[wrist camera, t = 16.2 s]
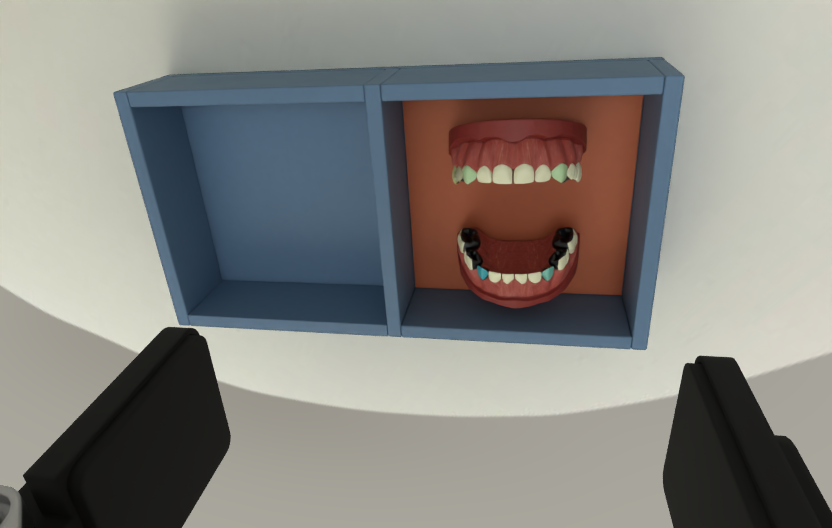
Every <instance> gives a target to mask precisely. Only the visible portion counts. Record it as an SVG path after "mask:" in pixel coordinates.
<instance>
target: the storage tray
mask: <svg viewBox="0 0 832 528" xmlns="http://www.w3.org/2000/svg"><path fill="white" fill-rule="evenodd" d="M684 78H685V77H684V75H683V74H682V73H680V72H679V71H678V70H677V69H675V68H674V67H673V66H672V65H670V64H669V63H668V62H667V61H665V59H664V58H662V57H657V58H629V59H601V60H573V61H545V62H517V63H488V64H460V65H432V66H404V67H376V68H347V69H319V70H291V71H263V72H235V73H206V74H178V75H167V76H163V77H161V78H158V79H154V80H151V81H148V82H145V83H142V84H138V85H135V86H132V87H129V88H126V89H122V90H119V91H116V92H114V93H113V94H114V98H115V101H116V105H117V108H118V112H119V116H120V119H121V123H122V126H123V130H124V133H125V137H126V140H127V144H128V147H129V151H130V154H131V158H132V161H133V165H134V168H135V172H136V175H137V179H138V182H139V186H140V189H141V193H142V196H143V200H144V203H145V207H146V210H147V214H148V217H149V221H150V224H151V228H152V231H153V235H154V238H155V242H156V245H157V249H158V252H159V256H160V259H161V263H162V266H163V270H164V273H165V277H166V280H167V284H168V287H169V291H170V294H171V298H172V301H173V305H174V308H175V312H176V315H177V319H178V322H179V325H191V326H206V327H224V328H243V329H261V330H280V331H299V332H317V333H336V334H354V335H373V336H393V337H401V336H402V337H413V338H431V339H450V340H469V341H487V342H506V343H524V344H543V345H561V346H580V347H599V348H617V349H630V348H631V349H636V350H646V349H647V343H648V336H649V329H650V322H651V315H652V307H653V300H654V293H655V286H656V279H657V272H658V264H659V257H660V250H661V243H662V236H663V229H664V221H665V214H666V207H667V200H668V193H669V186H670V178H671V171H672V164H673V157H674V150H675V143H676V135H677V128H678V121H679V114H680V107H681V100H682V92H683V85H684ZM503 119H559V120H567V121H574V122H578V123H581V124H583V125H585V126H586V128H587V147H586V152H585V153H584V154H583V155H582V160H581V163H580V165H581V169H582V176H581V179H580V181H579V182H576V181H575V180H573V179H572V180H567V181H566V182H565V183H563V182H562V183H560V182H559V181H557V180H555V179H554V178H552V176H551V178H550V180H549V181H545V182H536V181H535V172H534V181H533V182H532V183H526V184H515V183H514V181H513V183H512V184H497V183H494V182H493V180H492V182H491V183H482V182H479V181H478V179H477V178H476V179H475V180H474V181H473V182H471V183H470V184H466V183H465V182H463V181H461V182H459V183H458V184H455V183H454V182H453V179H452V171H453V168H454V166H453V163H452V157H451V155H449V130H451V129H452V128H454V127H456V126H459V125H463V124H468V123H473V122H482V121H491V120H503ZM513 173H514V170H513ZM492 174H493V173H492ZM558 227H562V228H563V227H572V228H573V229H574V230H575V231H576V232H577V233H580V245H579V258H578V265H577V269H576V273H575V276H574V277H573V279H572V280H571V282H570V283H569V285H568V286H567V288H566V289H565V290H564V291H563V292H562V293H560V294H559V295H558V296H556V297H555V298H553V299H551V300H550V301H547V302H542V303H539V304H536V305H533V306H529V307H524V308H516V309H515V308H509V307H504V306H501V305H498V304H495V303H493V302H490V301H486V300H483V299H482V298H480V297H479V296H477V295H476V294H475V293H474V292H472V291H471V289H470V288H469V287H468V286H467V284H466V282H465V281H464V279H463V277H462V275H461V272H460V267H459V260H458V252H457V233H460V231H461V229H462V228H478V229H479V230H480V231H481V232H482V233H483V234H484V235H486V236H487V237H489V238H492V239H496V240H505V241H531V240H539V239H543V238H546V237H548V236H550V235H551V234H552V233H553V232H554V231H555V230H556V229H557V228H558Z"/></svg>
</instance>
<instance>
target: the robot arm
mask: <svg viewBox="0 0 832 528" xmlns="http://www.w3.org/2000/svg"><path fill="white" fill-rule="evenodd" d="M230 436H231V435H230V431H229V427H228V422H227V419H226V414H225V411H224V407H223V403H222V399H221V395H220V391H219V388H218V383H217V380H216V376H215V372H214V368H213V364H212V360H211V356H210V352H209V349H208V345H207V341H206V339H205V338H204V337H203V336H200V335H199V333H198V331H197V330H196V329H193V328H178V327H167V328H165V329H163V330H162V331H161V332H160V333H159V334H158V335H157V336H156V337H155V338H154V339H153V340H152V341H151V342H150V343H149V344H148V345H147V346H146V347H145V349H144V350H143V351H142V352H141V353H140V354H139V355H138V356H137V357H136V358H135V359H134V360H133V361H132V362H131V363H130V364H129V365H128V366H127V367H126V368H125V369H124V370H123V372H122V373H121V374H120V375H119V376H118V377H117V378H116V379H115V380H114V381H113V382H112V383H111V384H110V385H109V386H108V387H107V388H106V389H105V390H104V391H103V392H102V393H101V394H100V395H99V396H98V398H97V399H96V400H95V401H94V402H93V403H92V404H91V405H90V406H89V407H88V408H87V409H86V410H85V411H84V412H83V413H82V414H81V415H80V416H79V417H78V418H77V420H75V421H74V423H73V424H72V425H71V426H70V427H69V428H68V429H67V430H66V431H65V432H64V433H63V434H62V435H61V436H60V437H59V438H58V439H57V440H56V441H55V442H54V443H53V444H52V445H51V447H50V448H49V449H48V450H47V451H46V452H45V453H44V454H43V455H42V456H41V457H40V458H39V459H38V460H37V461H36V462H35V463H34V464H33V465H32V466H31V467H30V468H29V469H28V470H27V471H26V473H25V474H24V475H23V477H24V479H25V481H26V484H25V485H24V486H23V487H22V488H21V489H20V490H19V491H16V490H15V489H14V488H12V487H8V486H3V485H0V528H182V526H183V525H184V523H185V521H186V519H187V518H188V516H189V515H190V513H191V511H192V510H193V508H194V506H195V504H196V503H197V501H198V500H199V498H200V496H201V495H202V493H203V491H204V489H205V488H206V486H207V484H208V483H209V481H210V479H211V478H212V476H213V474H214V473H215V471H216V469H217V468H218V466H219V464H220V463H221V461H222V459H223V458H224V456H225V454H226V453H227V451H228V448H229V445H230ZM663 486H664V492H665V495H666V500H667V504H668V508H669V511H670V515H671V519H672V523H673V527H674V528H832V512H831V510H830V508H829V507H828V505H827V503H826V501H825V499H824V498H823V496H822V494H821V492H820V490H819V488H818V487H817V485H816V483H815V481H814V479H813V478H812V476H811V474H810V472H809V470H808V468H807V466H806V465H805V463H804V461H803V459H802V457H801V456H800V454H799V452H798V450H797V448H796V447H795V445H794V444H793V442H792V441H791V440H790V439H789V438H787V437H786V436H777V435H774V434H773V432H772V430H771V428H770V426H769V424H768V422H767V420H766V418H765V416H764V414H763V412H762V410H761V408H760V406H759V404H758V403H757V401H756V399H755V397H754V395H753V393H752V391H751V389H750V387H749V385H748V383H747V381H746V379H745V377H744V375H743V373H742V371H741V370H740V368H739V366H738V364H737V362H736V361H735V359H734V358H732V357H714V356H698V357H697V358H696V360H695V364H694V363H687V364H685V366H684V369H683V374H682V379H681V384H680V389H679V394H678V399H677V404H676V409H675V414H674V419H673V424H672V429H671V435H670V439H669V445H668V449H667V454H666V459H665V464H664V470H663Z"/></svg>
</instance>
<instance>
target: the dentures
mask: <svg viewBox="0 0 832 528" xmlns="http://www.w3.org/2000/svg"><path fill="white" fill-rule="evenodd" d="M586 147H587V128H586V126H585V125H583V124H581V123H578V122H574V121H567V120H559V119H503V120H491V121H482V122H473V123H468V124H463V125H459V126H456V127H454V128H452V129H451V130H449V155H451V157H452V163H453V166H454V168H453V171H452V179H453V182H454V183H455V184H458V183H459V182H461V181H463V182H465V183H466V184H470V183H471V182H473V181H474V180H475V179H476V178H477V179H478V181H479V182H482V183H491V182H492V180H493V182H494V183H497V184H512V183H513V181H514V183H515V184H526V183H532V182H533V181H534V172H535V181H536V182H545V181H549V180H550V178H551V176H552V178H554V179H555V180H557V181H559V182H560V183H562V182H563V183H565V182H566V181H567V180H572V179H573V180H575V181H576V182H579V181H580V179H581V176H582V169H581V165H580V163H581V160H582V155H583V154H584V153H585V152H586ZM513 170H514V173H513ZM492 173H493V174H492ZM579 245H580V233H577V232H576V231H575V230H574V229H573V228H572V227H563V228H562V227H558V228H557V229H556V230H555V231H554V232H553V233H552V234H551V235H550V236H548V237H546V238H543V239H539V240H531V241H505V240H496V239H492V238H489V237H487V236H486V235H484V234H483V233H482V232H481V231H480V230H479V229H478V228H462V229H461V231H460V233H457V252H458V260H459V267H460V272H461V275H462V277H463V279H464V281H465V282H466V284H467V286H468V287H469V288H470V289H471V291H472V292H474V293H475V294H476V295H477V296H479V297H480V298H482V299H483V300H486V301H490V302H493V303H495V304H498V305H501V306H504V307H509V308H515V309H516V308H524V307H529V306H533V305H536V304H539V303H542V302H547V301H550V300H551V299H553V298H555V297H556V296H558V295H559V294H560V293H562V292H563V291H564V290H565V289H566V288H567V286H568V285H569V283H570V282H571V280H572V279H573V277H574V276H575V273H576V269H577V265H578V258H579Z"/></svg>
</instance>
